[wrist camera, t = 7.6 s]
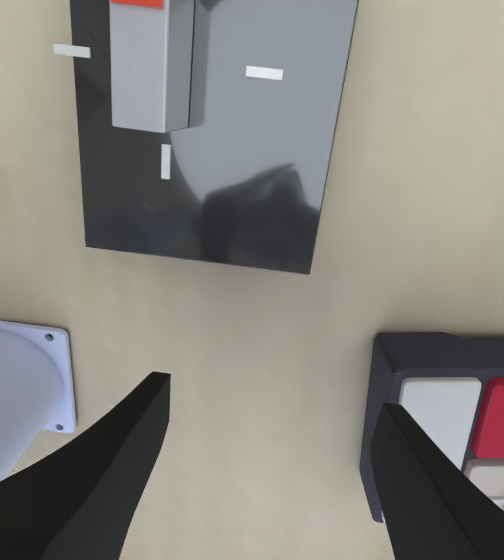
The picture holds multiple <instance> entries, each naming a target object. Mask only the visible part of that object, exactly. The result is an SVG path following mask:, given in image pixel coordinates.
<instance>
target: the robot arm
mask: <svg viewBox="0 0 504 560" xmlns="http://www.w3.org/2000/svg"><path fill="white" fill-rule="evenodd" d="M49 334H51V335H52V336H53V338H52V337H50V336H49ZM170 378H171V374H168V373H160V372H152V373H150V374H149V375H148V376H147V377H146V378H145V379H144V380H143V381H142V382H141V383H140V384H139V385H138V386H137V387H136V388H135V389H134V390H133V391H132V392H131V393H129V394H128V395H127V396H126V397H125V398H124V399H123V400H122V401H121V402H120V403H118V404H117V405H116V406H115V407H114V408H113V409H112V410H111V411H109V412H108V413H107V414H106V415H105V416H103V417H102V418H101V419H100V420H98V421H97V422H96V423H95V424H93V425H92V426H91V427H90V428H88V429H87V430H86V431H84V432H83V433H82V434H80V435H79V436H77V437H76V438H75V439H73V440H72V441H70V442H69V443H67V444H66V445H64V446H63V447H61V448H60V449H58V450H56V451H55V452H53V453H52V454H50V455H48V456H46V457H45V458H43V459H41V460H40V461H38V462H36V463H35V464H33V465H31V466H29V467H27V468H25V469H24V470H22V471H20V472H18V473H16V474H14V475H12V476H10V477H8V478H6V477H7V476H8V475H9V473H10V472H11V471H12V469H13V468H14V467H15V465H16V464H17V463H18V461H19V460H20V459H21V457H22V456H23V455H24V453H25V452H26V451H27V449H28V448H29V447H30V445H31V444H32V443H33V441H34V440H35V439H36V437H37V436H38V435H39V433H40V432H41V431H42V430H47V431H55V432H62V433H72V432H74V430H75V429H76V427H77V423H76V412H75V401H74V391H73V380H72V369H71V358H70V347H69V337H68V334H67V332H66V331H65V330H63V329H60V328H53V327H46V326H38V325H30V324H23V323H15V322H7V321H0V560H119V557H120V554H121V550H122V547H123V544H124V541H125V538H126V535H127V532H128V528H129V526H130V523H131V520H132V518H133V515H134V512H135V510H136V507H137V505H138V503H139V500H140V498H141V496H142V493H143V491H144V488H145V486H146V484H147V481H148V479H149V477H150V474H151V472H152V469H153V467H154V465H155V462H156V460H157V457H158V455H159V453H160V450H161V447H162V444H163V441H164V437H165V434H166V430H167V427H168V423H169V411H170ZM60 424H61V425H60ZM369 450H370V458H371V465H372V472H373V478H374V482H375V486H376V490H377V493H378V497H379V501H380V505H381V508H382V512H383V515H384V519H385V523H386V526H387V530H388V534H389V537H390V541H391V545H392V548H393V552H394V557H395V560H504V511H503V510H502V509H501V508H500V507H499V506H497V505H496V504H495V503H494V502H493V501H492V500H491V499H490V498H488V497H487V496H486V495H485V494H484V493H483V492H482V491H481V490H480V489H479V488H478V487H476V486H475V485H474V484H473V483H472V482H471V481H470V480H469V479H468V478H467V477H466V476H465V475H464V474H463V473H462V472H461V471H460V470H459V469H458V468H457V467H456V466H455V465H454V464H453V462H452V461H451V460H450V459H449V458H448V457H447V456H446V455H445V454H444V453H443V452H442V451H441V450H440V448H439V447H438V446H437V445H436V444H435V443H434V442H433V441H432V439H431V438H430V437H429V436H428V435H427V434H426V432H425V431H424V430H423V429H422V428H421V427H420V426H419V424H418V423H417V422H416V421H415V420H414V418H413V417H412V416H411V415H410V414H409V413H408V411H407V410H406V409H405V408H404V407H403V406H402V405H401V404H394V403H386V402H383V404H382V407H381V410H380V414H379V417H378V420H377V424H376V427H375V430H374V433H373V437H372V440H371V443H370V447H369Z"/></svg>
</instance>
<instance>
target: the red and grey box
mask: <svg viewBox="0 0 504 560" xmlns="http://www.w3.org/2000/svg"><path fill="white" fill-rule="evenodd" d="M383 402H386V403H394V404H401V405H402V406H403V407H404V408H405V409H406V410H407V411H408V413H409V414H410V415H411V416H412V417H413V418H414V420H415V421H416V422H417V423H418V424H419V426H420V427H421V428H422V429H423V430H424V431H425V432H426V434H427V435H428V436H429V437H430V438H431V439H432V441H433V442H434V443H435V444H436V445H437V446H438V447H439V448H440V450H441V451H442V452H443V453H444V454H445V455H446V456H447V457H448V458H449V459H450V460H451V461H452V462H453V464H454V465H455V466H456V467H457V468H458V469H459V470H460V471H461V472H462V473H463V474H464V475H465V476H466V477H467V478H468V479H469V480H470V481H471V482H472V483H473V484H474V485H475V486H476V487H478V488H479V489H480V490H481V491H482V492H483V493H484V494H485V495H486V496H487V497H488V498H490V499H491V500H492V501H493V502H494V503H495V504H496V505H497V506H499V507H500V508H501V509H502V510H503V511H504V338H462V337H458V336H454V335H450V334H446V333H381V334H379V335H377V336H376V338H375V340H374V347H373V356H372V365H371V374H370V382H369V391H368V400H367V409H366V417H365V426H364V435H363V443H362V452H361V461H360V474H361V478H362V482H363V485H364V489H365V493H366V496H367V500H368V504H369V507H370V511H371V514H372V518H373V520H374V521H376V522H380V523H385V519H384V515H383V512H382V508H381V505H380V501H379V497H378V493H377V490H376V486H375V482H374V478H373V472H372V465H371V458H370V450H369V447H370V443H371V440H372V437H373V433H374V430H375V427H376V424H377V420H378V417H379V414H380V410H381V407H382V404H383Z"/></svg>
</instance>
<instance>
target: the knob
mask: <svg viewBox="0 0 504 560" xmlns="http://www.w3.org/2000/svg"><path fill="white" fill-rule="evenodd" d="M109 3H110V49H111V94H112V125H113V126H114V127H120V128H127V129H135V130H142V131H150V132H158V133H167V132H172V131H177V130H182V129H187V128H188V114H189V94H190V74H191V54H192V34H193V14H194V0H109Z"/></svg>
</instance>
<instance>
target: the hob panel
mask: <svg viewBox="0 0 504 560" xmlns="http://www.w3.org/2000/svg"><path fill="white" fill-rule="evenodd" d="M358 2H359V0H194V14H193V34H192V54H191V74H190V94H189V114H188V128H187V129H182V130H177V131H172V132H167V133H158V132H150V131H142V130H135V129H127V128H120V127H114V126H113V125H112V94H111V49H110V3H109V0H70V13H71V28H72V43H73V45H64V44H56V43H54V54H57V55H65V56H73V59H74V74H75V89H76V105H77V120H78V135H79V151H80V166H81V181H82V197H83V212H84V227H85V242H86V247H92V248H100V249H108V250H116V251H124V252H131V253H139V254H147V255H155V256H163V257H171V258H179V259H187V260H195V261H203V262H211V263H219V264H226V265H234V266H242V267H250V268H258V269H266V270H274V271H282V272H290V273H298V274H306V275H309V274H310V269H311V264H312V258H313V252H314V247H315V241H316V236H317V230H318V225H319V219H320V214H321V208H322V202H323V197H324V191H325V186H326V180H327V175H328V169H329V164H330V158H331V152H332V147H333V141H334V136H335V130H336V125H337V119H338V114H339V108H340V102H341V97H342V91H343V86H344V80H345V75H346V69H347V64H348V58H349V52H350V47H351V41H352V36H353V30H354V25H355V19H356V14H357V8H358Z"/></svg>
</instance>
